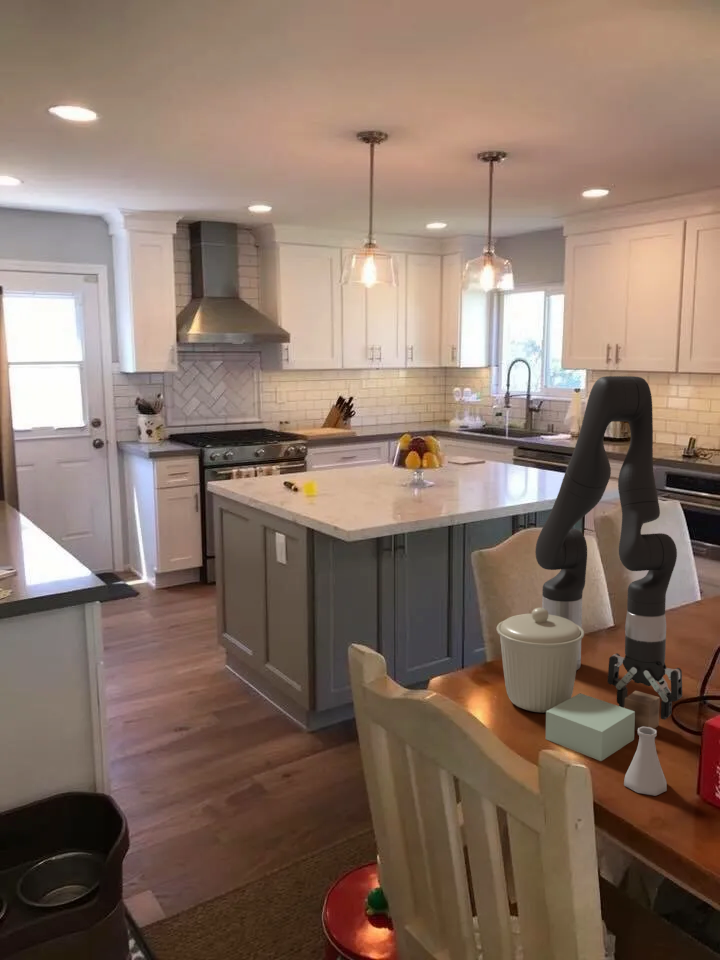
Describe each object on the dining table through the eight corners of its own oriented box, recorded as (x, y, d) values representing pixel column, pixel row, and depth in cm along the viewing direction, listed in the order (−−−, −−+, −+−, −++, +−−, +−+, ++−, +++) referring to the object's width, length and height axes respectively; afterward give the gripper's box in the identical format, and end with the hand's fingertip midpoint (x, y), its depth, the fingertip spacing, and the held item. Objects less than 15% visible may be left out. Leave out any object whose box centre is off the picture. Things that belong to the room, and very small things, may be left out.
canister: (598, 702, 167) (601, 607, 164) (550, 730, 155) (552, 628, 152) (528, 679, 181) (529, 590, 178) (478, 702, 168) (479, 608, 165)
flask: (632, 770, 140) (634, 717, 138) (673, 783, 135) (675, 728, 134) (616, 787, 134) (618, 732, 133) (659, 801, 130) (661, 744, 128)
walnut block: (623, 726, 156) (624, 698, 156) (634, 718, 160) (635, 690, 159) (648, 734, 153) (649, 705, 152) (658, 725, 157) (659, 697, 156)
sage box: (545, 740, 152) (546, 711, 151) (579, 720, 160) (580, 693, 159) (601, 762, 143) (601, 731, 142) (633, 740, 151) (635, 711, 150)
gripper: (689, 636, 151) (686, 716, 154) (619, 622, 161) (617, 697, 163) (674, 646, 146) (671, 729, 148) (602, 631, 156) (601, 708, 158)
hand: (643, 712), depth 156 cm, fingers open, 8 cm apart
